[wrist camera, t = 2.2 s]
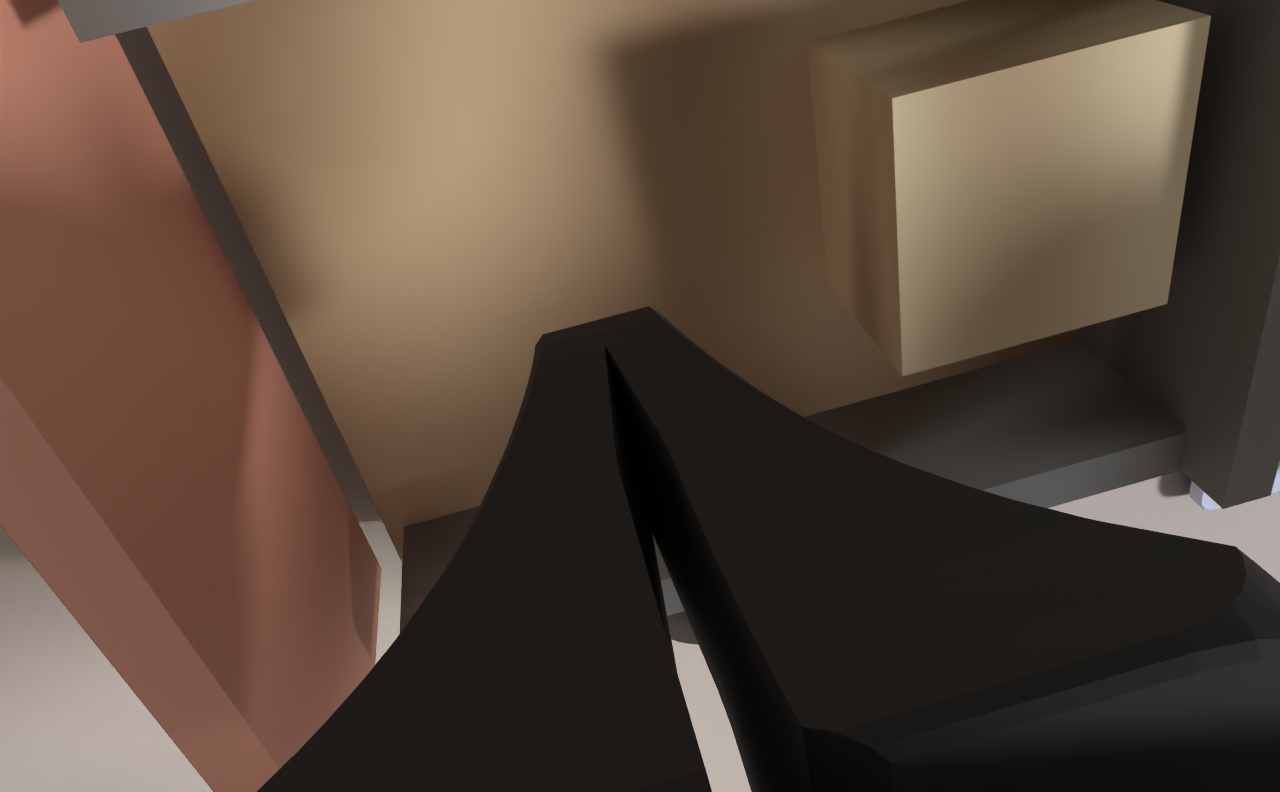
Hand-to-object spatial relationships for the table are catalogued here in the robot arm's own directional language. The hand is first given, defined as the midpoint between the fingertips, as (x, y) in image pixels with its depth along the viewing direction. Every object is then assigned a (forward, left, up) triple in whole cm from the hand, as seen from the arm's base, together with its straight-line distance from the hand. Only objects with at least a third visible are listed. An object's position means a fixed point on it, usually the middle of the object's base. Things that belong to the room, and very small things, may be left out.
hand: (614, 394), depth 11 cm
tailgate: (+5, 0, -4) cm, 7 cm away
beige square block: (-6, 0, -4) cm, 8 cm away
